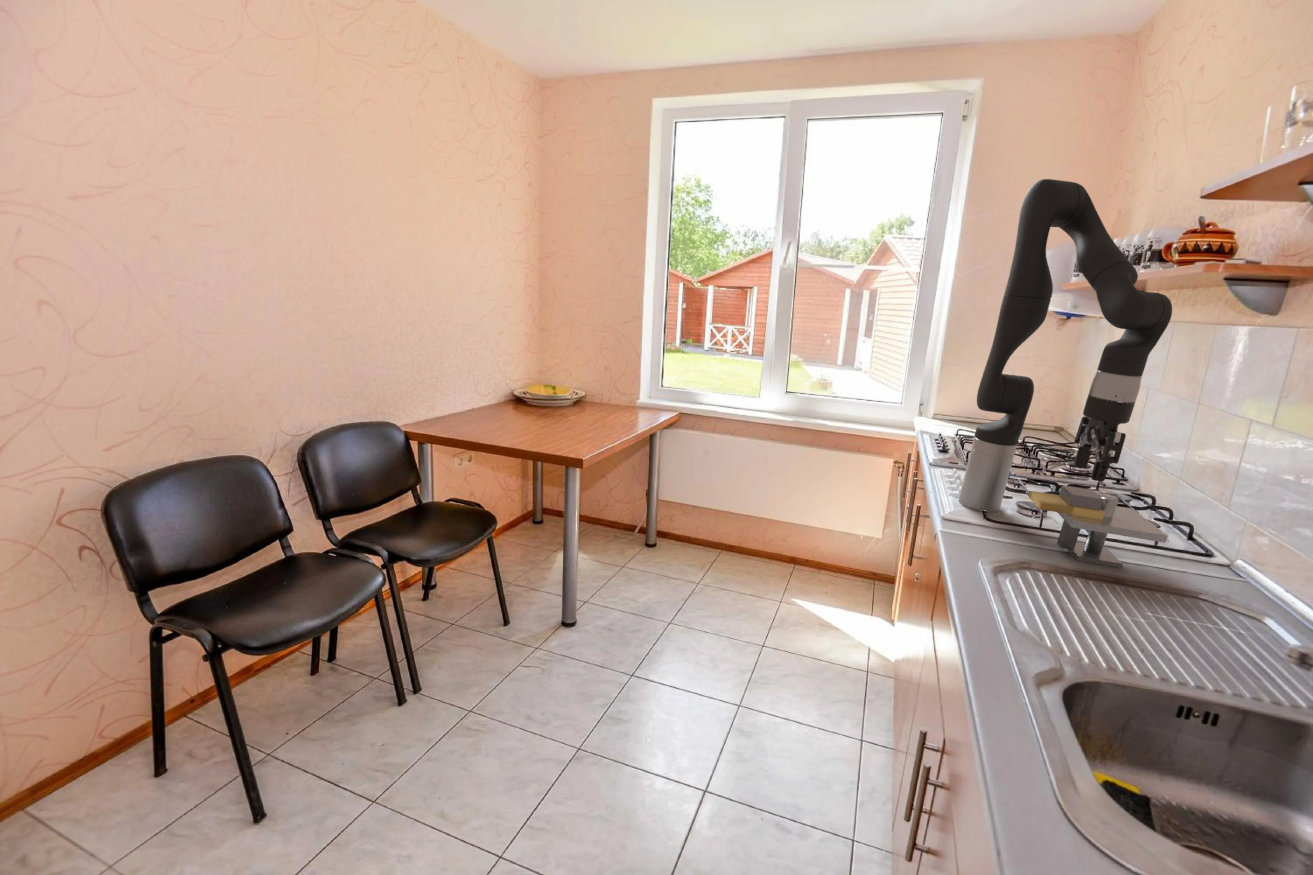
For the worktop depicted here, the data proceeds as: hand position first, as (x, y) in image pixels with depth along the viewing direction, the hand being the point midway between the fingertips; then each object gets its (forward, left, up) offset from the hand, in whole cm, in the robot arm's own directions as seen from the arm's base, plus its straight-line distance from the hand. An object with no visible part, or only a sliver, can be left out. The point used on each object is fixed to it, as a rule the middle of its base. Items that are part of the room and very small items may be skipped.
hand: (1088, 473), depth 119 cm
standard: (0, +5, -18) cm, 18 cm away
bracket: (0, -2, -8) cm, 8 cm away
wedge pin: (0, 0, -17) cm, 17 cm away
